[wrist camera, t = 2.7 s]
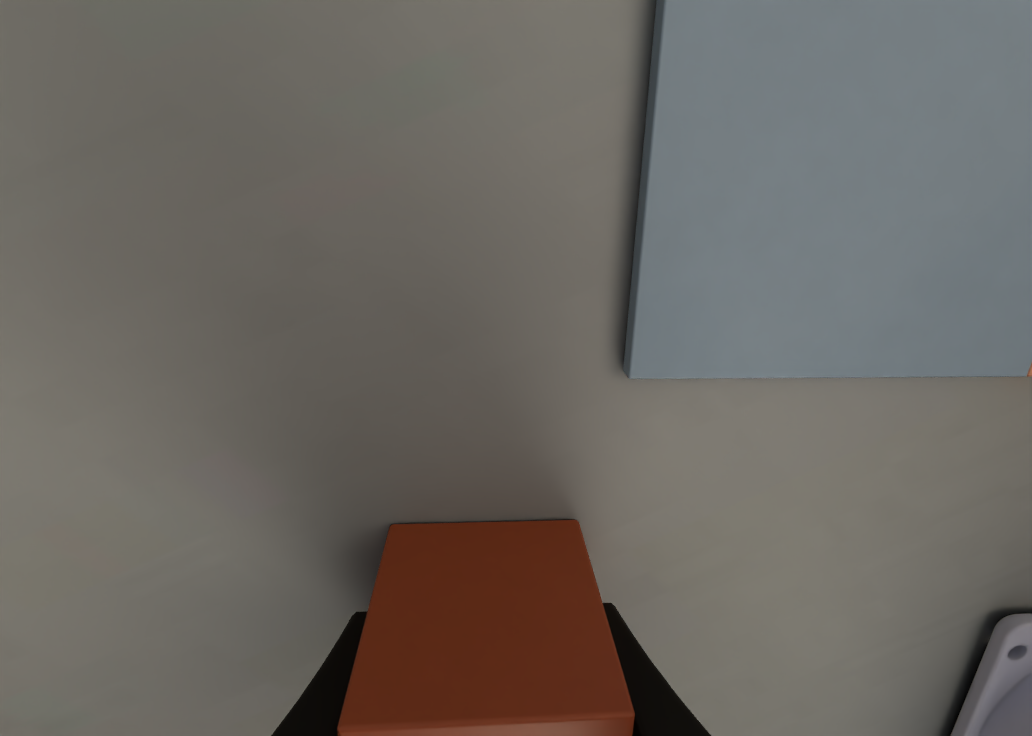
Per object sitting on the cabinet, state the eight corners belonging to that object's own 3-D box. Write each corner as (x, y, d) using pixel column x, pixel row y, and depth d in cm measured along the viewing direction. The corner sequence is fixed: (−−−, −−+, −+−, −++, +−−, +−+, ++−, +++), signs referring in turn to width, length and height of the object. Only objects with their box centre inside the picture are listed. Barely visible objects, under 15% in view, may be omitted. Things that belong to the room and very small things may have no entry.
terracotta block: (569, 660, 14) (613, 895, 10) (400, 667, 14) (359, 914, 9) (578, 518, 13) (636, 714, 8) (389, 522, 12) (335, 729, 8)
